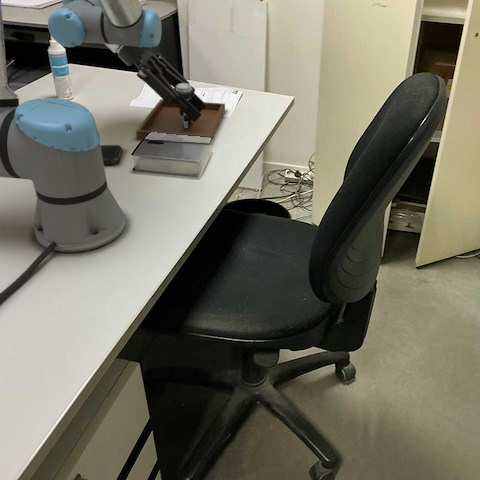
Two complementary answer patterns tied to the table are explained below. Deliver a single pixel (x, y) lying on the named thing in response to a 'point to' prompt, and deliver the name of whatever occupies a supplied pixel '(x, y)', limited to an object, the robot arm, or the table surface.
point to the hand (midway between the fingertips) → (200, 113)
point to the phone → (111, 154)
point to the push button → (187, 93)
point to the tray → (169, 121)
